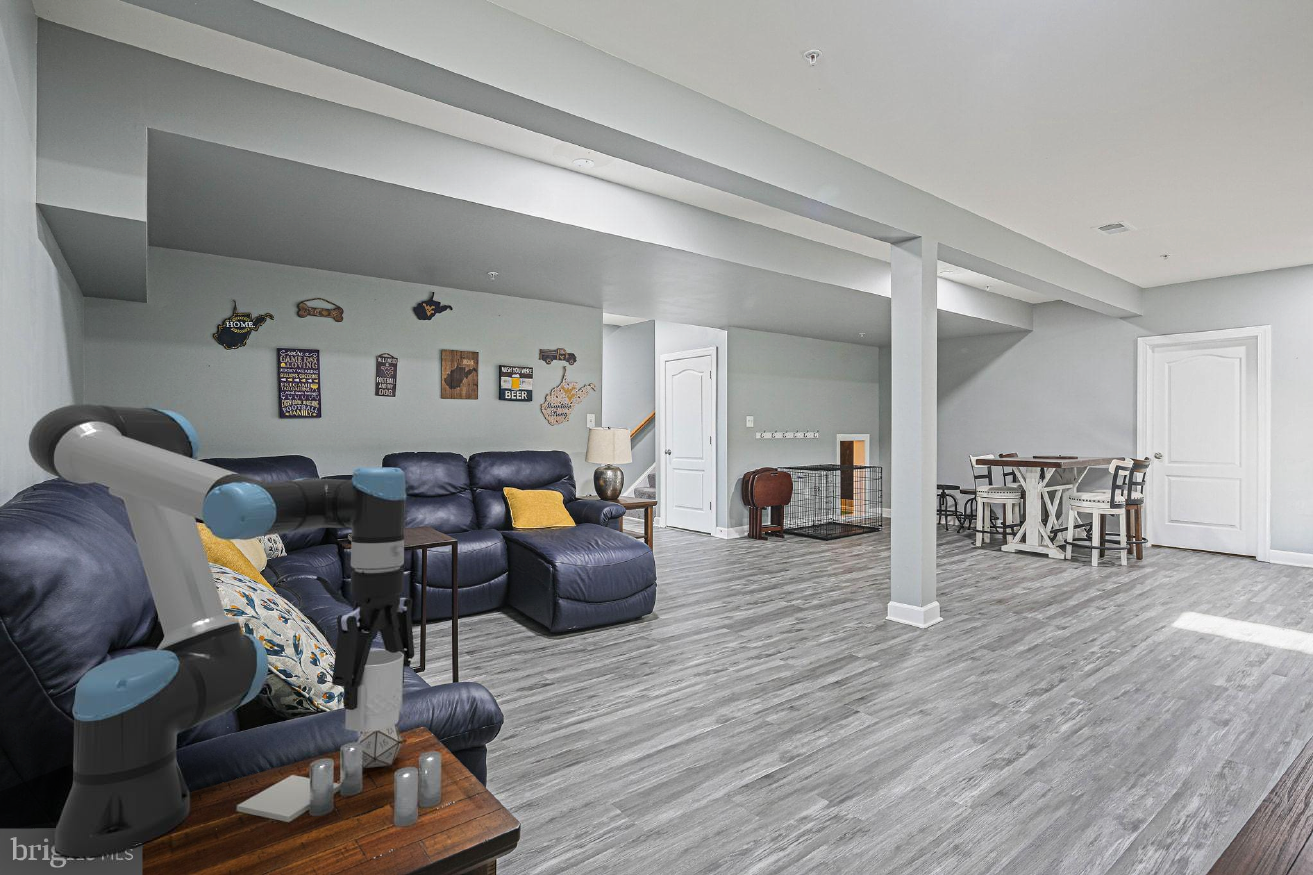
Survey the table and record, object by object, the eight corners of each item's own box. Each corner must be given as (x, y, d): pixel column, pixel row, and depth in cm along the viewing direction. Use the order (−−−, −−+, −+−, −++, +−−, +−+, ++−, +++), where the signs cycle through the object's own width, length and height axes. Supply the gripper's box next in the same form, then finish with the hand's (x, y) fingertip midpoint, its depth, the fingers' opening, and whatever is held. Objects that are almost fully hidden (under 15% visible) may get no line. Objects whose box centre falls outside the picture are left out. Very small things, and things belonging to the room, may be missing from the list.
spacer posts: (304, 814, 99) (304, 766, 99) (355, 781, 108) (355, 738, 109) (400, 834, 93) (401, 783, 94) (445, 798, 103) (445, 752, 103)
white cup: (382, 736, 97) (384, 667, 97) (334, 731, 98) (336, 663, 99) (412, 715, 104) (414, 651, 105) (368, 711, 106) (369, 648, 106)
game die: (366, 790, 113) (338, 738, 115) (412, 757, 119) (384, 708, 121) (373, 783, 107) (342, 728, 109) (421, 749, 112) (391, 697, 114)
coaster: (236, 810, 100) (236, 805, 100) (292, 779, 109) (292, 774, 109) (288, 822, 97) (288, 816, 97) (341, 789, 106) (341, 784, 106)
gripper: (347, 582, 91) (343, 750, 91) (440, 559, 110) (437, 698, 110) (304, 578, 93) (300, 742, 93) (402, 556, 113) (399, 692, 112)
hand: (374, 718), depth 101 cm, fingers closed on white cup, 7 cm apart
